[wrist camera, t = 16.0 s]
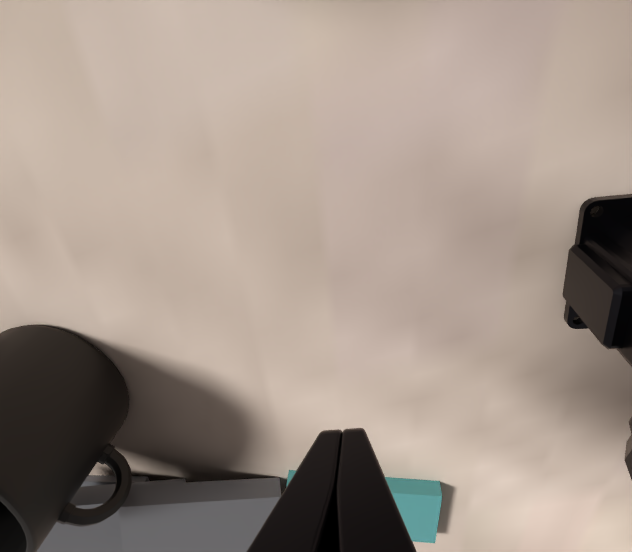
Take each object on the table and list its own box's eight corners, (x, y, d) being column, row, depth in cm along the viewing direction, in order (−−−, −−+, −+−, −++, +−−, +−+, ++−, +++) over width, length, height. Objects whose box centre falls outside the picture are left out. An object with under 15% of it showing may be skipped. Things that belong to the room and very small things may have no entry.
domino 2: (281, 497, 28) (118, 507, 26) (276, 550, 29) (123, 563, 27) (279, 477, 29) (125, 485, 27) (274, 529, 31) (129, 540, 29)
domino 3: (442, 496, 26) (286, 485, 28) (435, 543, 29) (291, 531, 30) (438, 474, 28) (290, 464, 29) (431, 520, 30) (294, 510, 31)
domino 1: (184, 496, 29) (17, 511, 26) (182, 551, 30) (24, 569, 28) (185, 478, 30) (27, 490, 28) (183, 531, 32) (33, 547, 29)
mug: (135, 470, 31) (53, 616, 23) (-23, 389, 28) (-176, 518, 20) (190, 395, 26) (112, 540, 18) (9, 294, 24) (-167, 409, 16)
